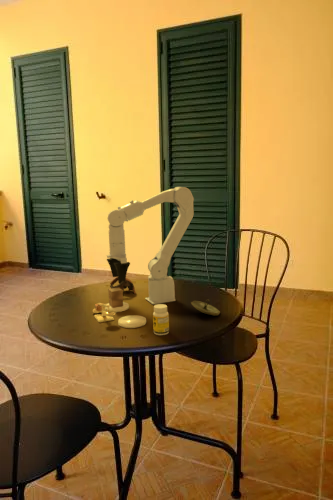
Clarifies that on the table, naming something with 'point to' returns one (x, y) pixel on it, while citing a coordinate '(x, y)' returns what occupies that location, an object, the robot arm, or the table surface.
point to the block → (115, 297)
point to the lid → (205, 308)
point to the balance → (103, 313)
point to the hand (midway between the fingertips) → (118, 278)
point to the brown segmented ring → (123, 284)
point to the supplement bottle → (160, 320)
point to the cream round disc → (132, 321)
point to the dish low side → (118, 309)
